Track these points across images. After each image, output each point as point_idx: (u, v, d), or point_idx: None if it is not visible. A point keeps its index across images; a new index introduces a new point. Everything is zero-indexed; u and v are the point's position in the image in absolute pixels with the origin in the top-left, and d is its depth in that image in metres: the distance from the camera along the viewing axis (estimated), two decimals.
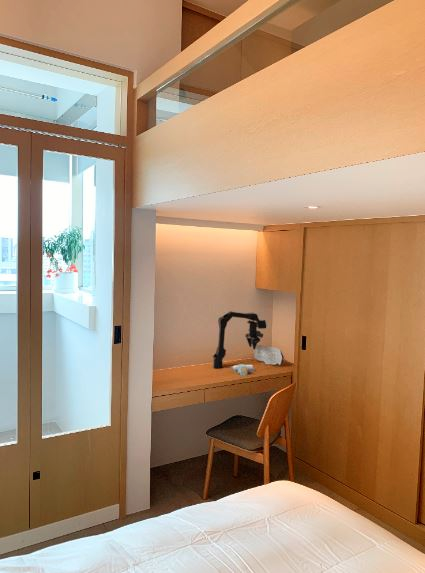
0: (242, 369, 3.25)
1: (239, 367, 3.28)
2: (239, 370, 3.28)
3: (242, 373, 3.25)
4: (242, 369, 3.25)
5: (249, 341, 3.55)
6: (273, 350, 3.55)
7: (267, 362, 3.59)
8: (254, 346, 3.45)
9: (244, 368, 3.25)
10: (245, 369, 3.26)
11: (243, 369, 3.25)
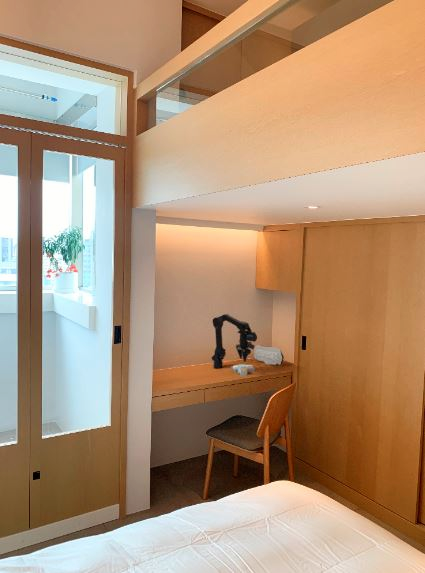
0: (242, 369, 3.25)
1: (239, 367, 3.28)
2: (239, 370, 3.28)
3: (242, 373, 3.25)
4: (242, 369, 3.25)
5: (239, 352, 3.32)
6: (273, 350, 3.55)
7: (267, 362, 3.59)
8: (244, 358, 3.23)
9: (244, 368, 3.25)
10: (245, 369, 3.26)
11: (243, 369, 3.25)
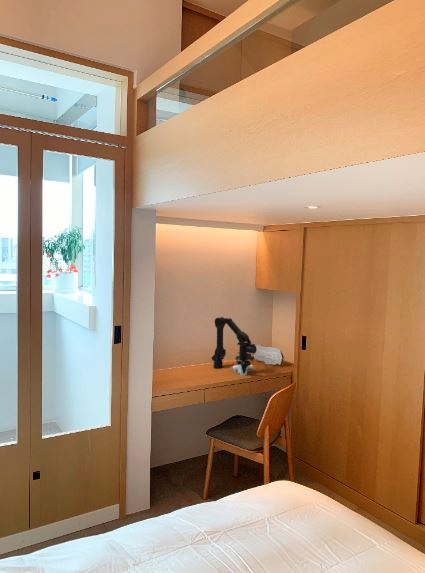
0: None
1: (239, 367, 3.28)
2: (239, 370, 3.28)
3: (242, 373, 3.25)
4: None
5: None
6: (273, 350, 3.55)
7: (267, 362, 3.59)
8: (244, 370, 3.24)
9: None
10: None
11: None
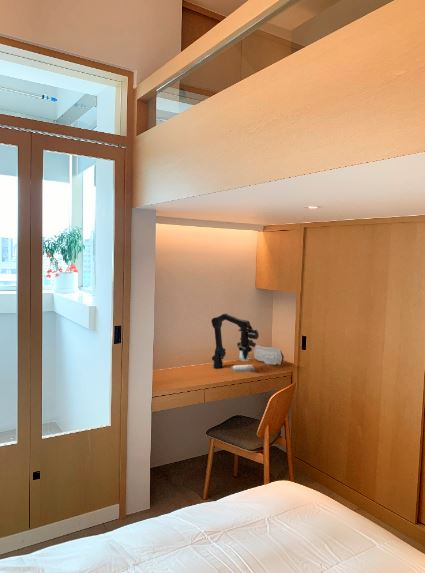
0: None
1: (240, 353, 3.30)
2: (240, 356, 3.30)
3: (243, 359, 3.28)
4: None
5: None
6: (273, 350, 3.55)
7: (267, 362, 3.59)
8: (245, 356, 3.27)
9: None
10: None
11: None
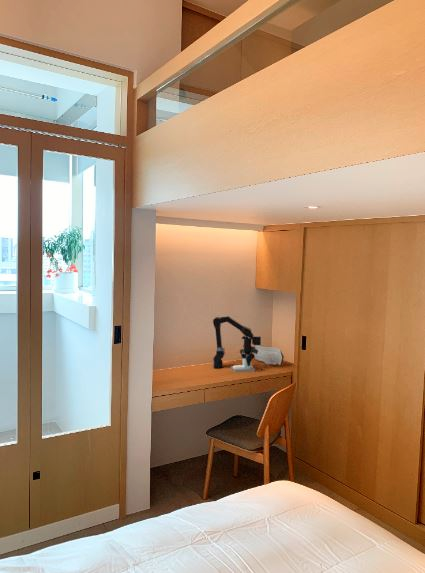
0: (246, 363, 3.37)
1: (243, 361, 3.40)
2: (243, 364, 3.40)
3: (246, 366, 3.38)
4: None
5: (243, 357, 3.45)
6: (273, 350, 3.55)
7: (267, 362, 3.59)
8: (248, 363, 3.35)
9: None
10: None
11: None
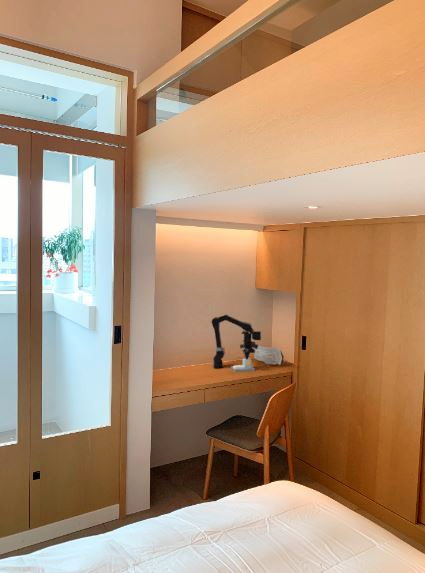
0: (246, 363, 3.37)
1: (243, 361, 3.40)
2: (243, 364, 3.40)
3: (246, 366, 3.38)
4: (247, 363, 3.37)
5: None
6: (273, 350, 3.55)
7: (267, 362, 3.59)
8: (247, 356, 3.39)
9: (248, 362, 3.38)
10: (249, 363, 3.38)
11: (247, 362, 3.37)
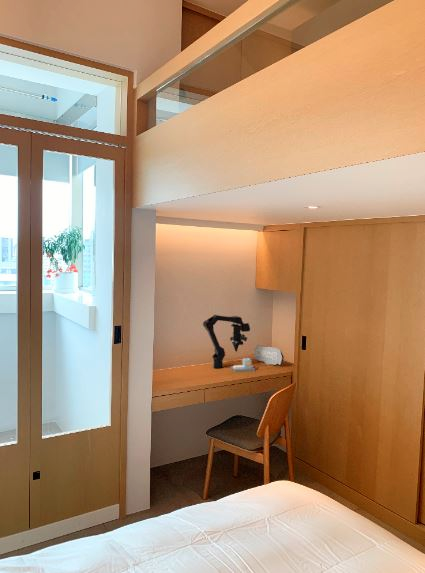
0: (246, 363, 3.37)
1: (243, 361, 3.40)
2: (243, 364, 3.40)
3: (246, 366, 3.38)
4: (247, 363, 3.37)
5: None
6: (273, 350, 3.55)
7: (267, 362, 3.59)
8: (236, 348, 3.49)
9: (248, 362, 3.38)
10: (249, 363, 3.38)
11: (247, 362, 3.37)
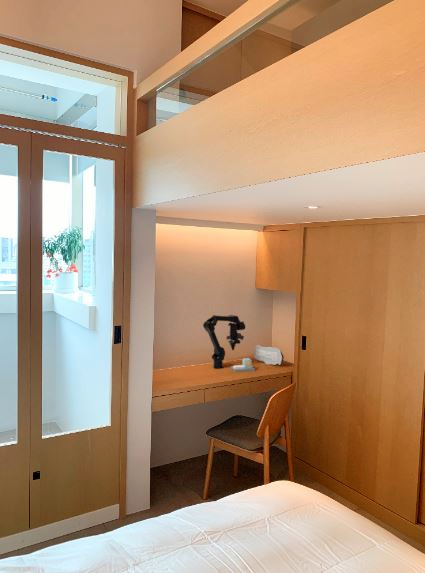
0: (246, 363, 3.37)
1: (243, 361, 3.40)
2: (243, 364, 3.40)
3: (246, 366, 3.38)
4: (247, 363, 3.37)
5: None
6: (273, 350, 3.55)
7: (267, 362, 3.59)
8: (233, 347, 3.52)
9: (248, 362, 3.38)
10: (249, 363, 3.38)
11: (247, 362, 3.37)
